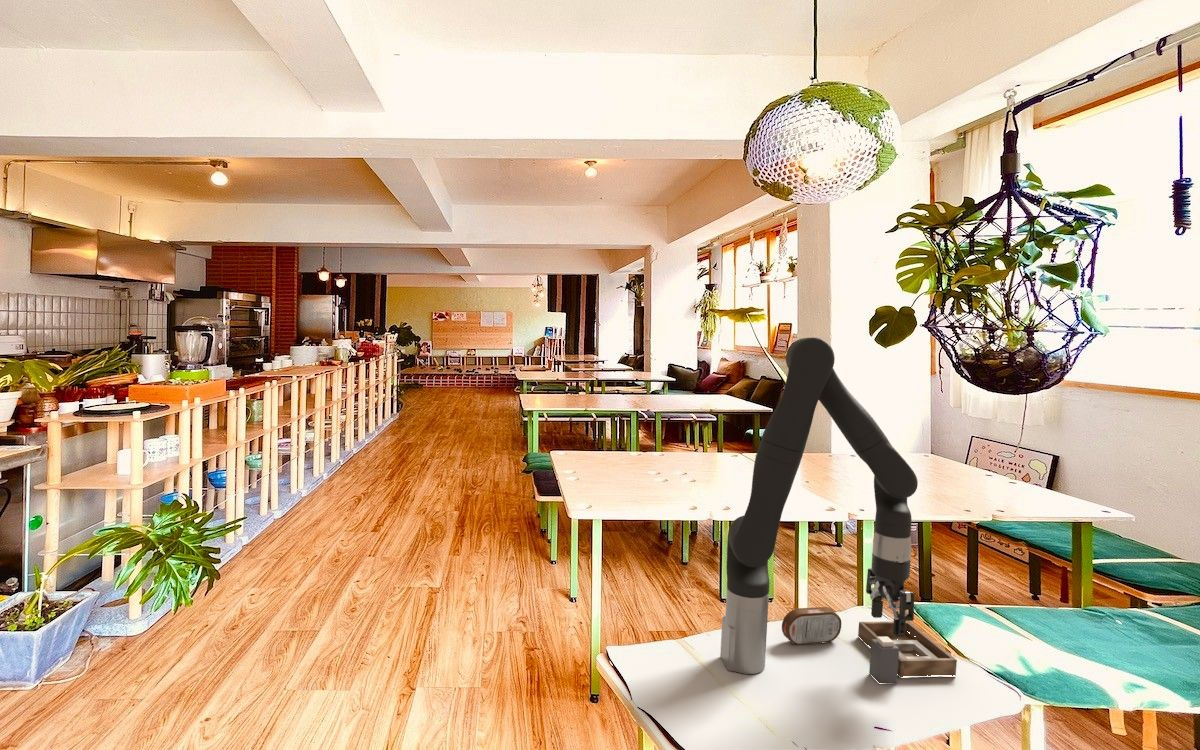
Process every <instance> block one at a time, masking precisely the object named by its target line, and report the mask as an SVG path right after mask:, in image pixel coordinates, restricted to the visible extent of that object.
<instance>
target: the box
mask: <svg viewBox="0 0 1200 750" xmlns="http://www.w3.org/2000/svg"><path fill="white" fill-rule="evenodd" d="M893 624H894V621H859V622H858V628H857V629H858V631H857V637H858V636H859V637H860V638H861V639H862V640H863V641H864V642H865V643H866V644H867V645H869V646H870V647H871V640H872V639H877V637H889V638H890V639H891V640H892V641H893V642H894V644H895V645H896V646H897V647H898V648H899V658H898V672H897V674H898V675H899V676H900V677H903V676H927V675H928V676H931V675H952V676H953V675H955V676H956V674H957V666H958V665H957V664H958V663H957V661H958V660H957V659H956V658H955V657H954V656H953V655H952V654H950V653H949V652H947V651H946V650H945V649H944V648H943V647H941V646H940V645H939V644H937V643H936V642H935V641H933V640H932V639H931V638H930V637H929V636H927V635H926V634H925V633H924V632H923V631H921V630H920V629H919V628H918V627H916V626H915V625H914V624H912V623H911V622H910V621H906V626H905V635H904V636H903V637H896V636H895V635H893ZM907 631H908V632H910V634H909V633H908V632H907ZM914 636H916V637H914ZM897 639H898V640H897ZM916 654H917V655H919V656H917V655H916ZM956 677H957V676H956Z"/></svg>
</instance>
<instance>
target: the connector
mask: <svg viewBox="0 0 1200 750" xmlns="http://www.w3.org/2000/svg"><path fill="white" fill-rule="evenodd" d="M898 658H899V648H898V647H897V646H896V645H895V644H894V642H893V641H892V640H891V639H890V638H889V637H877V639H872V640H871V650H870V658H869V673H870V674H871V675H872V676H873V677H874V678H875V679H876V680H877V681H878V682H879V683H897V684H898V676H897V672H898ZM869 673H868V674H869ZM870 674H869V675H870ZM871 675H870V676H871ZM872 676H871V677H872Z"/></svg>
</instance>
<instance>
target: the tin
mask: <svg viewBox="0 0 1200 750" xmlns="http://www.w3.org/2000/svg"><path fill="white" fill-rule="evenodd" d="M841 630H842V619H841V617H840V616H839V614H838V613H836V612H835V611H834V610H833V609H832V608H830V607H828V606H819V607H817V606H816V607H814V606H813V607H801V608H800V607H799V608H794V609H791V610H790V611H789V612H788V613H786V615H784V618H783V620H782V622H781V631H782V634H783V636H784V637H785V638H786V639H787V640H789V642H790V643H792V644H794V645H798V646H802V645H801V644H806V645H814V644H813V643H819V644H823V643H822V642H829V643H831V642H833V641H835V640H836V639H837V638H838V636H839V635H840V633H841Z"/></svg>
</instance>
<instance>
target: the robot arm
mask: <svg viewBox="0 0 1200 750" xmlns="http://www.w3.org/2000/svg"><path fill="white" fill-rule="evenodd" d="M785 363H786V366H787V369H788V370H787V371H788V372H787V377H786V380H785V384H784V389H783V392H782V395H781V398H780V400H779V402H778V404H777V406H776V408H775V409H774V411H773V413H772V414H771V416H770V418H769V420H768V422H767V424H766V426H765V428H764V430H763V433H762V436H761V438H760V442H759V445H758V448H757V451H756V455H755V459H754V465H753V470H752V471H753V472H752V480H751V481H752V482H751V489H750V490H751V491H750V497H749V501H748V505H747V507H746V510H745V513H744V515H741V516H739V517H737V518H735V519H734V521H732V522H731V524H730V526H729V529H728V532H727V540H726V544H727V545H726V596H725V598H726V599H725V613H724V614H725V615H724V616H722V617H721V619H722V620H721V633H720V634H721V635H720V636H721V638H720V652H719V653H720V659H721V660H722V662H723V664H724V666H725V667H726V669H727V671H728V672H729V671H730V672H731V671H733V672H737V673H740V674H744V675H755V674H759V673H762V672H763V671H764V670H765V667H766V659H767V658H766V650H767V634H768V617H769V599H770V585H771V584H770V583H771V582H770V577H769V560H770V559H771V557H772V555H773V554H774V552H775V547H776V543H777V537H778V532H779V528H780V523H781V519H782V518H781V517H782V515H783V511H784V508H785V505H786V502H787V500H788V497H789V495H790V492H791V489H792V487H793V485H794V482H795V481H794V480H795V479H796V478H795V477H796V475H797V472H798V471H799V467H800V464H801V461H802V458H803V457H804V456H803V455H804V453H805V449H806V445H807V442H808V438H809V434H810V431H811V428H812V423H813V419H814V415H815V411H816V408H817V405H818V402H820V404H821V405H822V406H823V407H824V408H825V410H826V411H827V413H828V414H829V416H830V417H831V419H832V420H833V422H834V423H835V424H836V426H837V428H838V429H839V431H840V432H841V434H842V435H843V437H844V438H845V439H846V441H847V442H848V444H849V445H850V447H852V449H853V451H854V452H855V453H856V455H857V456H858V457H859V458H860V459H861V460H862V461H863V462H864V463H865V464H866V465H867V466H868V468H869V469H870V471H871V473H872V474H873V489H874V491H873V492H874V499H875V519H874V520H875V521H874V522H875V523H874V535H873V537H872V538H873V539H872V548H871V549H872V553H871V568H867V577H866V586H865V592H866V594H868V595H869V598H870V600H871V613H870V614H871V616H872V617H873V618H874V619H876V618H878V619H879V618H882V617H883V609H884V608H883V607H884V601H883V600H885V601H886V602H887V604H888V608H889V609H891V611H892V613H893V617H894V618H893V622H894V624H893V635H895V636H896V637H903V636H904V635H905V626H906V621H909V622H910V621H911V622H913V621H914V619H915V594H914V592H913V591H907V590H906V589H905V581H907V580H908V579H909V578H910V576H911V562H912V560H911V559H912V557H911V555H912V539H911V537H912V534H911V533H912V512H911V510H910V509H909V506H908V498H910V497H912V495H914V494H915V493H916V491H917V490H918V483H919V481H918V478H917V474H916V473H915V472H914V470H913V468H912V467H911V466H910V465H909V464H908V463H907V461H906V460H905V459H904V457H902V455H901V454H900V453H899V452H898V451H897V450H896V449H895V447H894V446H893V445H892V444H891V442H890V440H889V439H888V437H887V436H886V434H885V433H884V432H883V430H882V428H881V427H880V426H879V424H878V422H876V421H875V419H874V417H872V416H871V414H870V413H869V412H868V410H866V408H865V407H864V406H863V405H862V404H861V403H860V402H859V401H858V400H857V398H855V396H854V395H853V394H852V393H851V392H850V391H849V389H848V388H847V387H846V386H845V385H844V383H843V382H842V381H841V379H840V378H839V376H838V374H837V373H836V371H835V369H834V365H835V352H834V349H833V348H832V346H831V345H830V343H829V342H827V341H826V340H824V339H822V338H819V337H802V338H799V339H797V340H795V341H793V342H792V343H791V344H790V346H788V348H787V351H786V353H785ZM873 585H874V586H873ZM872 586H873V587H872ZM898 609H899V611H898ZM907 610H908V611H907Z"/></svg>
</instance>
